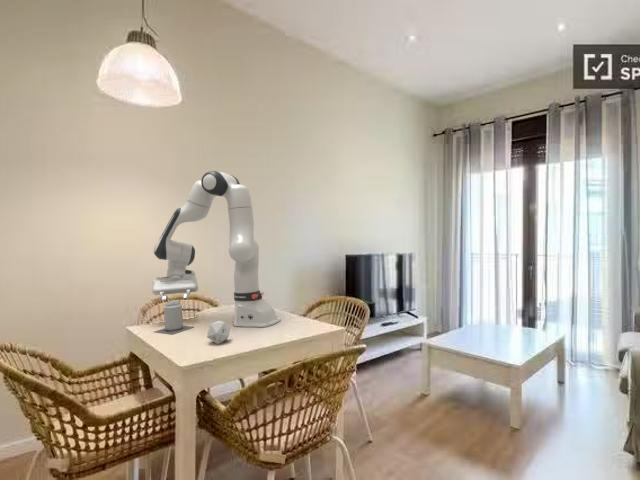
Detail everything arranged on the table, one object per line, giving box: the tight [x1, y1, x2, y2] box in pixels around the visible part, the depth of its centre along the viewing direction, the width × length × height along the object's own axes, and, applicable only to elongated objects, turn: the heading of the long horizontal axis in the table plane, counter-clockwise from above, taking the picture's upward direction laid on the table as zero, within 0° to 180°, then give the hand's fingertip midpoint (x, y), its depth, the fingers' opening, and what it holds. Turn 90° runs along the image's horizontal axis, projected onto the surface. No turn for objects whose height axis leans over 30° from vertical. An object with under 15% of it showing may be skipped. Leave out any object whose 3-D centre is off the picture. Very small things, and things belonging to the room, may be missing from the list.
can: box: [163, 300, 184, 331], centre depth 159 cm, size 8×8×12 cm
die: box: [206, 320, 231, 345], centre depth 138 cm, size 8×9×10 cm
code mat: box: [153, 325, 194, 336], centre depth 159 cm, size 12×12×1 cm
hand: (174, 299), depth 166 cm, fingers open, 8 cm apart
